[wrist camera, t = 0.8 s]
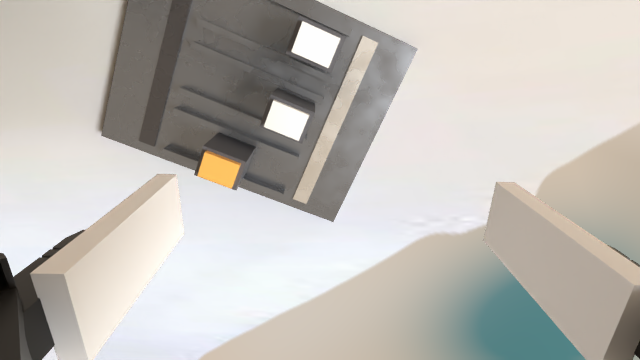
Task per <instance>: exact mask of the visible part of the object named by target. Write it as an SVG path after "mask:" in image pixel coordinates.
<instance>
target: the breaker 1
mask: <svg viewBox="0 0 640 360" xmlns="http://www.w3.org/2000/svg"><path fill="white" fill-rule="evenodd" d="M254 150H255V147H254V146H251V145H249V144H246V143H244V142H241V141H239V140H236V139H233V138H231V137H228V136H226V135H223V134H221V133H217V134H216V135H215V136H214V137H213V138H212V139H210V140H209V141H208V142H207V143H206V144H205V145H203V148H202V152H201V155H200V158H199V161H198V164H197V168H196V171H195V174H194V175H196V176H199V177H201V178H204V179H207V180H209V181H212V182H215V183H217V184H220V185H223V186H226V187H228V188H231V189H234V190H237V188H238V186H239V184H240V183H241V181H242V179H243V177H244V176H245V174H246V172H247V169H248V167H249V164H250V161H251V158H252V156H253V153H254Z"/></svg>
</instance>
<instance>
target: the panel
mask: <svg viewBox="0 0 640 360" xmlns="http://www.w3.org/2000/svg"><path fill="white" fill-rule="evenodd" d="M299 16H302V17H304V18H306V19H308V20H310V21H312V22H315V23H317V24H319V25H321V26H323V27H325V28H328V29H330V30H332V31H334V32H336V33H338V34H341V35H343V36H345V37H346V39H345V41H344V44H343V46H342V49H341V51H340V53H339V56H338V58H337V61H336V63H335V65H334V68H333V70H332V73H329V72H327V71H325V70H322V69H320V68H318V67H316V66H313V65H311V64H309V63H307V62H304V61H302V60H300V59H297V58H295V57H293V56H291V55H288V54H286V51H287V49H288V46H289V43H290V40H291V38H292V35H293V32H294V29H295V26H296V24H297V21H298V18H299ZM416 51H417V48H415V47H413V46H411V45H409V44H407V43H405V42H402V41H400V40H398V39H396V38H394V37H392V36H390V35H388V34H385V33H383V32H381V31H379V30H377V29H375V28H373V27H371V26H369V25H366V24H364V23H362V22H360V21H358V20H356V19H354V18H352V17H349V16H347V15H345V14H343V13H341V12H339V11H337V10H335V9H333V8H330V7H328V6H326V5H324V4H322V3H320V2H318V1H316V0H128V5H127V10H126V15H125V20H124V25H123V30H122V35H121V40H120V45H119V50H118V55H117V60H116V65H115V70H114V75H113V80H112V85H111V90H110V95H109V100H108V105H107V110H106V115H105V120H104V125H103V130H102V135H101V136H104V137H106V138H109V139H112V140H115V141H117V142H120V143H123V144H125V145H128V146H131V147H133V148H136V149H139V150H141V151H144V152H147V153H149V154H152V155H155V156H157V157H160V158H163V159H166V160H168V161H171V162H174V163H176V164H179V165H182V166H184V167H187V168H190V169H192V170H195V171H196V168H197V164H198V161H199V158H200V155H201V152H202V148H203V145H205V144H206V143H207V142H208V141H209V140H210V139H212V138H213V137H214V136H215V135H216V134H217V133H221V134H223V135H226V136H228V137H231V138H233V139H236V140H239V141H241V142H244V143H246V144H249V145H251V146H254V147H255V150H254V153H253V156H252V158H251V161H250V164H249V167H248V169H247V172H246V174H245V176H244V177H243V179H242V181H241V183H240V184H239V186H238V187H241V188H243V189H246V190H249V191H251V192H254V193H257V194H259V195H262V196H265V197H268V198H270V199H273V200H276V201H278V202H281V203H284V204H286V205H289V206H292V207H294V208H297V209H300V210H302V211H305V212H308V213H310V214H313V215H316V216H319V217H321V218H324V219H327V220H329V221H332V222H333V221H334V219H335V217H336V215H337V213H338V211H339V209H340V207H341V205H342V203H343V201H344V199H345V197H346V195H347V193H348V191H349V189H350V186H351V184H352V182H353V180H354V178H355V176H356V174H357V172H358V170H359V168H360V166H361V164H362V162H363V160H364V158H365V156H366V154H367V152H368V150H369V148H370V145H371V143H372V141H373V139H374V137H375V135H376V133H377V131H378V129H379V127H380V125H381V123H382V121H383V119H384V117H385V115H386V113H387V111H388V109H389V107H390V104H391V102H392V100H393V98H394V96H395V94H396V92H397V90H398V88H399V86H400V84H401V82H402V80H403V78H404V76H405V74H406V72H407V70H408V68H409V66H410V64H411V61H412V59H413V57H414V55H415V53H416ZM277 88H279V89H281V90H284V91H286V92H288V93H291V94H293V95H295V96H298V97H300V98H303V99H305V100H307V101H310V102H312V103H314V104H315V114H314V116H313V119H312V121H311V123H310V126H309V128H308V131H307V133H306V135H305V138H304V140H303V143H302V144H301V143H298V142H296V141H293V140H291V139H288V138H286V137H283V136H281V135H278V134H276V133H273V132H271V131H268V130H266V129H263V128H261V127H259V126H260V123H261V120H262V118H263V115H264V112H265V109H266V107H267V104H268V101H269V98H270V96H271V94H272V93H273V92H274V91H275V90H276V89H277Z"/></svg>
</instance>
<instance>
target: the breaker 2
mask: <svg viewBox="0 0 640 360" xmlns="http://www.w3.org/2000/svg"><path fill="white" fill-rule="evenodd" d="M314 114H315V104H314V103H312V102H310V101H307V100H305V99H303V98H300V97H298V96H295V95H293V94H291V93H288V92H286V91H284V90H281V89H279V88H277V89H276V90H275V91H274V92H273V93H272V94H271V96H270V98H269V101H268V104H267V107H266V109H265V112H264V115H263V118H262V120H261V123H260V126H259V127H261V128H263V129H266V130H268V131H271V132H273V133H276V134H278V135H281V136H283V137H286V138H288V139H291V140H293V141H296V142H298V143H301V144H302V143H303V140H304V138H305V135H306V133H307V131H308V128H309V126H310V123H311V121H312V119H313V116H314Z"/></svg>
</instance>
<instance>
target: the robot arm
mask: <svg viewBox="0 0 640 360" xmlns="http://www.w3.org/2000/svg"><path fill="white" fill-rule="evenodd" d="M183 235H184V227H183V220H182V212H181V204H180V196H179V189H178V181H177V174H157V175H156V176H155V177H153V178H152V179H151V180H149V181H148V182H147V183H146V184H144V185H143V186H142V187H140V188H139V189H138V190H137V191H135V192H134V193H133V194H131V195H130V196H129V197H128V198H126V199H125V200H124V201H122V202H121V203H120V204H119V205H117V206H116V207H115V208H113V209H112V210H111V211H110V212H108V213H107V214H106V215H104V216H103V217H102V218H101V219H99V220H98V221H97V222H95V223H94V224H93V225H92V226H90V227H89V228H88V229H86V230H82V231H80V232H78V233H75V234H73V235H71V236H69V237H67V238H65V239H64V240H62V241H61V242H60V243H58V244H57V245H56V246H54V247H53V249H50V250H49V251H48V252H46V253H45V254H44V255H42V258H38V259H37V260H36V261H34V262H33V263H32V264H30V265H29V266H27V267H26V268H25V269H23V270H22V271H21V272H19V273H18V274H17V275H15V276H14V277H13V275H12V272H11V269H10V267H9V264H8V261H7V258H6V256H5V255H4V254H3V253H0V360H42V359H43V358H44V356H45V355H46V354H47V353H48V352H49V351H50V350H51V349H52V347H53V346H54V349H55V352H56V355H57V358H58V360H93V359H94V358H95V356H96V355H97V354H98V352H99V351H100V350H101V348H102V347H103V345H104V344H105V343H106V341H107V340H108V338H109V337H110V336H111V334H112V333H113V332H114V330H115V329H116V327H117V326H118V325H119V323H120V322H121V321H122V319H123V318H124V316H125V315H126V314H127V312H128V311H129V310H130V308H131V307H132V305H133V304H134V303H135V301H136V300H137V298H138V297H139V296H140V294H141V293H142V292H143V290H144V289H145V287H146V286H147V285H148V283H149V282H150V281H151V279H152V278H153V276H154V275H155V274H156V272H157V271H158V270H159V268H160V267H161V265H162V264H163V263H164V261H165V260H166V259H167V257H168V256H169V254H170V253H171V252H172V250H173V249H174V247H175V246H176V245H177V243H178V242H179V241H180V239H181V238H182V236H183ZM483 241H484V242H485V243H486V244H487V245H488V247H489V248H490V249H491V250H492V251H493V252H494V253H495V255H496V256H497V257H498V258H499V259H500V260H501V261H502V263H503V264H504V265H505V266H506V267H507V268H508V270H509V271H510V272H511V273H512V274H513V275H514V277H515V278H516V279H517V280H518V281H519V282H520V284H521V285H522V286H523V287H524V288H525V289H526V290H527V292H528V293H529V294H530V295H531V296H532V297H533V299H534V300H536V302H537V303H538V304H539V305H540V307H541V308H542V309H543V310H544V311H545V312H546V314H547V315H548V316H549V317H550V318H551V319H552V320H553V322H554V323H555V324H556V325H557V326H558V327H559V329H560V330H561V331H562V332H563V333H564V334H565V335H566V337H567V338H568V339H569V340H570V341H571V342H572V344H573V345H574V346H575V347H576V348H577V350H578V351H579V352H580V353H581V354H582V355H583V356H584V358H585V359H586V360H633V357H634V355H636V356H637V357H639V359H640V265H639V264H637V263H636V262H634V261H633V260H630V259H629V258H628V257H627V256H625V255H624V254H622V253H621V252H620V251H618V250H616V249H615V248H613V247H611V246H609V245H606V244H605V243H603V242H602V241H600V240H599V239H597V238H596V237H594V236H593V235H591V234H590V233H588V232H587V231H585V230H584V229H582V228H581V227H579V226H578V225H576V224H575V223H574V222H572V221H571V220H569V219H568V218H566V217H564V216H563V215H562V214H560V213H559V212H557V211H556V210H554V209H553V208H551V207H550V206H548V205H547V204H546V203H544V202H543V201H541V200H540V199H538V198H537V197H535V196H534V195H532V194H531V193H529V192H528V191H526V190H525V189H523V188H522V187H520V186H519V185H517V184H516V183H514V182H496V185H495V190H494V194H493V198H492V203H491V207H490V212H489V216H488V221H487V225H486V230H485V234H484V239H483Z"/></svg>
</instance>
